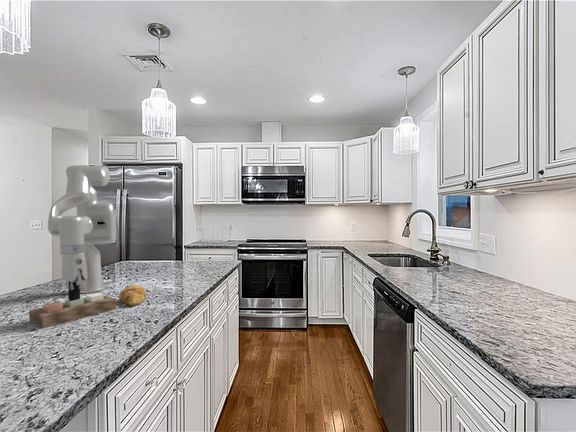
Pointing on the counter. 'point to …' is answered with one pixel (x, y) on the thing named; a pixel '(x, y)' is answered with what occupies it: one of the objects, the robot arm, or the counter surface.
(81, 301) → the sage key
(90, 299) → the cream cube
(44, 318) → the wooden compartment tray
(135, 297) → the croissant
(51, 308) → the terracotta key
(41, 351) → the counter surface
